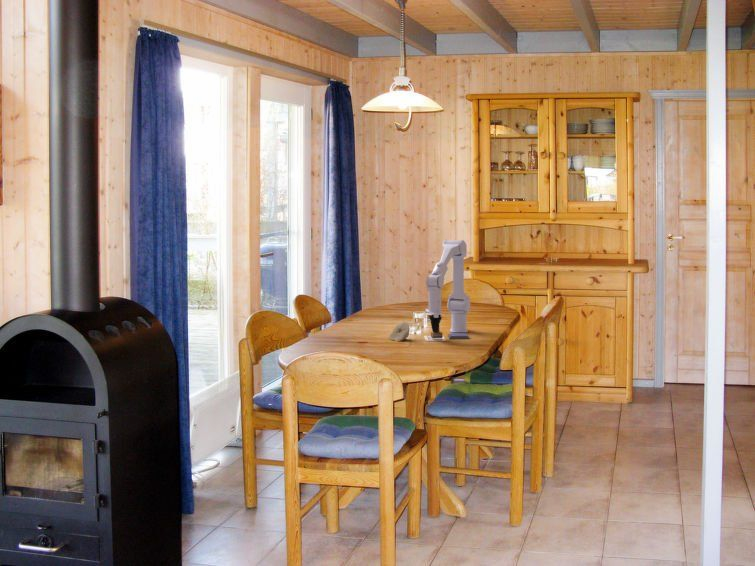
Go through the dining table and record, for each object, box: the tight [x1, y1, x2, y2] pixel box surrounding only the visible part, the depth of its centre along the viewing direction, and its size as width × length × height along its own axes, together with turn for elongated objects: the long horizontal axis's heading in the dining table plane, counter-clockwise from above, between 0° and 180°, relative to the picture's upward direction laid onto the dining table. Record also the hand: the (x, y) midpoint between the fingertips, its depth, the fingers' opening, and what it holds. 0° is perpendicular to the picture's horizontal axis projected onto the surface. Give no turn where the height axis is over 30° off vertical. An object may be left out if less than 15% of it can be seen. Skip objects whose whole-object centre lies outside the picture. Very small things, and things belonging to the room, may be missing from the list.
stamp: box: [430, 328, 444, 338], centre depth 422 cm, size 4×4×6 cm
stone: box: [389, 321, 410, 342], centre depth 424 cm, size 10×7×10 cm
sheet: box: [423, 335, 447, 342], centre depth 426 cm, size 14×9×1 cm, turn 1°
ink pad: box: [447, 332, 470, 340], centre depth 428 cm, size 9×9×1 cm
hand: (435, 331), depth 422 cm, fingers closed on stamp, 3 cm apart
